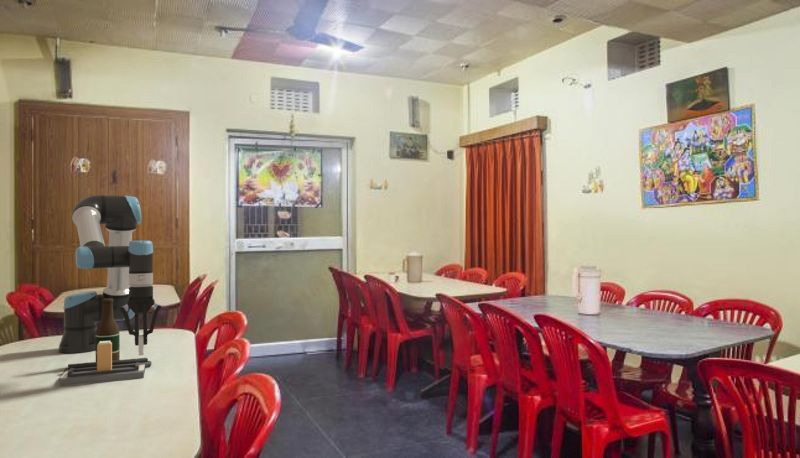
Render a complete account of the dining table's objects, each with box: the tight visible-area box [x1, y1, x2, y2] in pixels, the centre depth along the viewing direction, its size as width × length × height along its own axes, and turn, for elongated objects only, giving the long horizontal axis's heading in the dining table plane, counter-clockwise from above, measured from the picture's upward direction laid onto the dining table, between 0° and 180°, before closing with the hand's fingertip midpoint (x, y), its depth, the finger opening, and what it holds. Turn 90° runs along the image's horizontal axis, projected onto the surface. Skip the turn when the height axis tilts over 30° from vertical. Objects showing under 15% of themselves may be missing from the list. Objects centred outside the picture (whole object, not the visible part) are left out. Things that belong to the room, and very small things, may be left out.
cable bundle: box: [63, 357, 152, 374], centre depth 191 cm, size 27×4×3 cm, turn 113°
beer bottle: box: [95, 298, 121, 362], centre depth 200 cm, size 8×8×24 cm
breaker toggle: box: [97, 341, 112, 371], centre depth 182 cm, size 4×4×10 cm
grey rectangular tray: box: [58, 362, 146, 387], centre depth 182 cm, size 12×24×3 cm, turn 113°
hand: (141, 354), depth 186 cm, fingers closed
